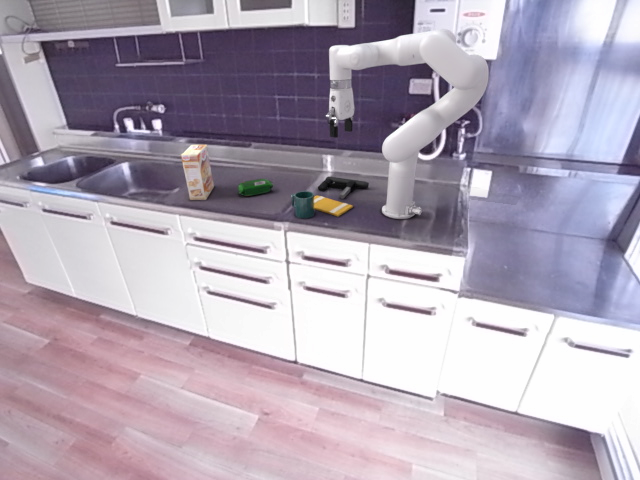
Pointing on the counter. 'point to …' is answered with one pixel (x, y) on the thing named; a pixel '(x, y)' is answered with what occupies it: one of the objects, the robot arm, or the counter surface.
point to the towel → (330, 206)
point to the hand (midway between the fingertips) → (341, 134)
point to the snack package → (255, 187)
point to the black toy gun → (342, 185)
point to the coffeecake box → (197, 172)
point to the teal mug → (303, 204)
